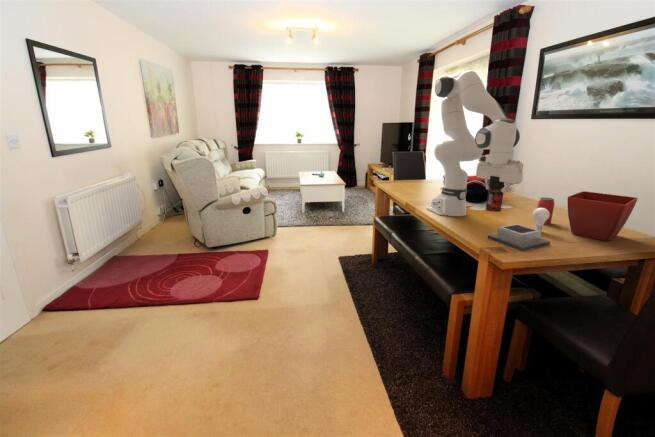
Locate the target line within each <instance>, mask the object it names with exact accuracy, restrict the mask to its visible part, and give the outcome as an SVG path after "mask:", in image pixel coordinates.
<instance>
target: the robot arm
mask: <svg viewBox="0 0 655 437" xmlns="http://www.w3.org/2000/svg"><path fill="white" fill-rule="evenodd" d="M435 81H436V82H435V86H434V92H435V95H436V96H437V97H439V98H443V99H442V101H441V106H440V109H441V113H440V114H441V120H442V127H443V132H444V134H445V135H446V136H448V137H449V138H451V140H444V141H441V142H438V143H437V144H436V145H435V148H434V156H435V159H436V161H438V162H439V163H440V164H441V165H442V168H443V172H444V186H443V187H441V188H440V189H439V190H441V192H440V193H439V194H438V195H436V196H434V198H432V200H431V204H430V205H428V206H426V207H425V208H426V210H429V211H430V212H433V213H434V214H436V215H438V216H447V215H448V216H449V217H464V216H466V215H467V208H466V206H467V203H466V202H467V200H466V196H467V193H468V188H467V185H468V184H467V182H468V172H467V171H465V170H464V169H462V168H461V164H460V163H461V162H463V163H464V162H472V161H475V160H478V163H477V166H476V171H475V175H476V178H478V179H484V183H485V185H486V187H485V190H487V191H488V189H489V182H490V176H495V177H500V179H499V181H500V182H504V185H505V186H504V187H503V188H501V193H503V194H506V193H507V191H508V188H509V187H510V186H511V185H520V184H521V183H522V182H523V178H524V177H523V175H524V173H523V172H524V171H523V170H524V164H523V163H522V162H521V161H520V160H515V159H514V148H515V147H516V146H517V145H518V143H519V141H520V138H521V135H520V131H519V129H518V128H517V122H516V121H515V120H514V119H512V118H509V117H508V115H507V114H506V112H505V111H504V109H503V107H502V105H501V104H500V103H499V102H498V101H497V100H496V99H495V98H494V97H492V95H491V94H490V93H489V91H488V90H487V89H486V87H485V85H484V82H483V80H482V79H481V78H480V76H479V74H478V73H477V72H475V71H474V70H466V71H464V72H462V73H457V74H456V73H455V74H445V75H441V76H439V77H438V79H437V80H435ZM464 108H465V110H467V111H469V112H472V113H477V114H481V115H483V116H486V117H487V118H489V119H490V120H491V122H492V123H491V124H489V125H486V126H484V127H481V128H480V129H479V130H478V131H477V132H476V133H475V134H476V135H475V137H474V136H473V134H472V133H471V132H470V130H469V129H468V125H467V121H466V116H465V111H464ZM484 150H489V154H485V155H483V153H484Z"/></svg>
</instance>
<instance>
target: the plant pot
mask: <svg viewBox="0 0 655 437" xmlns="http://www.w3.org/2000/svg"><path fill="white" fill-rule="evenodd" d="M638 199H639V198H638V197H634V196H626V195H618V194H610V193H602V192H595V191H594V192H593V191H587V190H586V191H585V190H584V191H583V190H582V191H579V192H576V193H574V194H572V195H569V196H567V216H568V222H569V226H570V227H569V228H570V232H571V234H572V235H576V236H581V237H584V238H585V237H586V238H590V239H594V240H600V241H605V242H609V241H610V240H612V239H613V238H615V237H616V236H618V235H619V233H620V232H621V230H623V228H624V226H625V224H626V223H627V221H628V219H629V217H630V215H631V214H632V212H633V210H634V208H635V206H636V204H637V202H638Z"/></svg>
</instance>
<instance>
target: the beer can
mask: <svg viewBox="0 0 655 437" xmlns="http://www.w3.org/2000/svg"><path fill="white" fill-rule="evenodd" d="M537 208H545V209H547V210H548V211H549V213H550V217H549V218H548V220H547V221H545V223H544V225H549V224H551V223H552V218H553V215H554V214H553V213H554V209H555V199H554V198H552V197H545V196H544V197H543V196H542V197H540V199H539V200H538V202H537V207H536V209H537Z"/></svg>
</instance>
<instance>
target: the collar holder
mask: <svg viewBox="0 0 655 437" xmlns="http://www.w3.org/2000/svg"><path fill="white" fill-rule="evenodd" d="M541 235H542V231H540V230H536V229H535V228H532V227H530V226H525V225H522V224H518V223H513V224H507V225H503V226H498V227H497V232H496V233H492V234H491V233H490V234H487V237H486V239H488V240H490V239H491V241H493V240H494V242H496V241H497V242H496V243H498V242H499V243H498V244H501V243H502V244H501V245H504V246H506V245H507V247H510V248H512V249H514V248H515V250H517V249H518V251H520V252H525V251H529V250H532V249H537V248H543V247H546V246H549V245H550V244H551V241H550V240H547V239H544V238H541Z"/></svg>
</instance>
